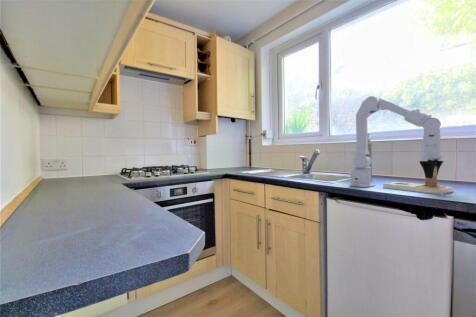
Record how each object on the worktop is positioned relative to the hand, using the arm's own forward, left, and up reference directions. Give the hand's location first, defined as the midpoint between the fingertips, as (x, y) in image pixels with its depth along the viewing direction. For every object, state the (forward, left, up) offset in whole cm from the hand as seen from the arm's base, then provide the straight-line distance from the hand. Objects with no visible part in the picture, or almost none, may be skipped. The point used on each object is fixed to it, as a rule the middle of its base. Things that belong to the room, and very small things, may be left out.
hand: (431, 177), depth 99 cm
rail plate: (0, +6, -6) cm, 8 cm away
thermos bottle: (+14, +38, -6) cm, 40 cm away
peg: (0, 0, -3) cm, 3 cm away
